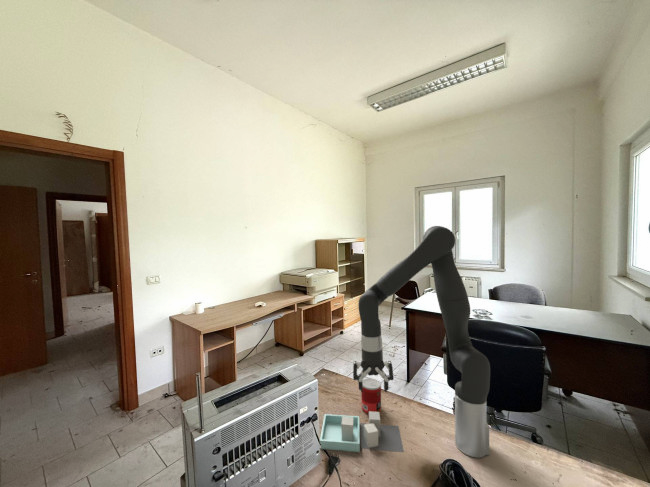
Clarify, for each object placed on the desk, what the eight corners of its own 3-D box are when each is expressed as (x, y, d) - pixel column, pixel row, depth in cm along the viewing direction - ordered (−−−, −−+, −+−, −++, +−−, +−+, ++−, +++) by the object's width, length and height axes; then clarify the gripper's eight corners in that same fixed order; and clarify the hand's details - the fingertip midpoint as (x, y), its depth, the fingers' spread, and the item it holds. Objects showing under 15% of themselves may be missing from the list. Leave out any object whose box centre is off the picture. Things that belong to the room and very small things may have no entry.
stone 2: (379, 428, 96) (379, 412, 96) (380, 436, 92) (380, 419, 92) (368, 427, 97) (368, 411, 97) (369, 435, 93) (369, 419, 93)
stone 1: (353, 433, 94) (353, 417, 93) (353, 442, 90) (353, 425, 89) (342, 432, 94) (342, 416, 94) (341, 441, 90) (341, 424, 90)
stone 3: (373, 436, 92) (373, 423, 92) (378, 445, 88) (378, 431, 88) (363, 438, 91) (363, 424, 91) (368, 447, 88) (368, 433, 87)
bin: (359, 424, 99) (359, 416, 99) (359, 453, 86) (359, 443, 86) (324, 422, 101) (324, 414, 100) (319, 449, 87) (319, 440, 87)
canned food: (381, 416, 103) (381, 389, 103) (360, 414, 105) (360, 387, 104) (381, 404, 111) (380, 378, 110) (362, 402, 112) (361, 377, 112)
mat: (398, 426, 97) (398, 425, 97) (404, 453, 86) (404, 451, 86) (360, 424, 99) (360, 423, 99) (360, 449, 87) (360, 448, 87)
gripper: (352, 351, 91) (354, 396, 92) (393, 350, 90) (395, 397, 91) (351, 342, 99) (353, 384, 99) (390, 341, 98) (391, 384, 98)
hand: (373, 390), depth 95 cm, fingers open, 8 cm apart
